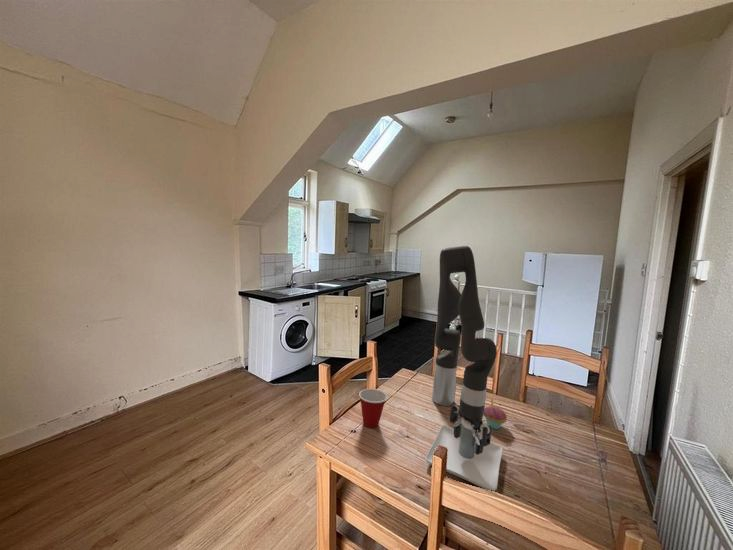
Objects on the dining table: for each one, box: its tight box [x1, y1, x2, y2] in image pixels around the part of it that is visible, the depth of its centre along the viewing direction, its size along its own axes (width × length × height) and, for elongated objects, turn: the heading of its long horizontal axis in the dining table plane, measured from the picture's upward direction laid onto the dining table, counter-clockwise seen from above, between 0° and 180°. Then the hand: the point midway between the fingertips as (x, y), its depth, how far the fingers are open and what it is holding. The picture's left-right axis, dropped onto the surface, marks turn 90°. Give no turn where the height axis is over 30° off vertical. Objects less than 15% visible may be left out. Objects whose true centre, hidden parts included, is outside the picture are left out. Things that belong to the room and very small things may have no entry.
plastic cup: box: [358, 388, 388, 429], centre depth 112 cm, size 11×11×12 cm
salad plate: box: [424, 424, 504, 492], centre depth 97 cm, size 21×21×3 cm
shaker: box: [459, 419, 478, 459], centre depth 96 cm, size 5×5×12 cm
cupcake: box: [483, 395, 508, 430], centre depth 116 cm, size 9×8×12 cm
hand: (467, 445), depth 96 cm, fingers open, 8 cm apart
